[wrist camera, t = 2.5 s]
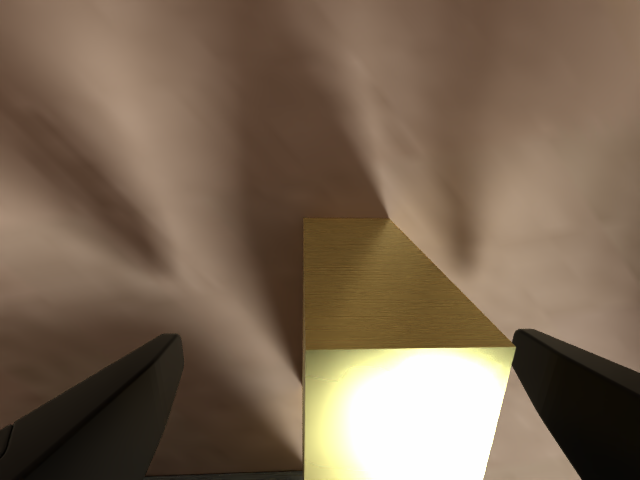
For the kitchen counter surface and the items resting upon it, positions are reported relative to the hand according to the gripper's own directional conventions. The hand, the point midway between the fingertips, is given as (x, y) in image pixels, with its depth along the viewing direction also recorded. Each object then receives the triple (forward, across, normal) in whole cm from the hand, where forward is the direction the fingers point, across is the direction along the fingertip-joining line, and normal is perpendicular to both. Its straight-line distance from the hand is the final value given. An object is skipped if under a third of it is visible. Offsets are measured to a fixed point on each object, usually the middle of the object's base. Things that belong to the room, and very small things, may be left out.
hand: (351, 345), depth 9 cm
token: (+2, 0, 0) cm, 2 cm away
